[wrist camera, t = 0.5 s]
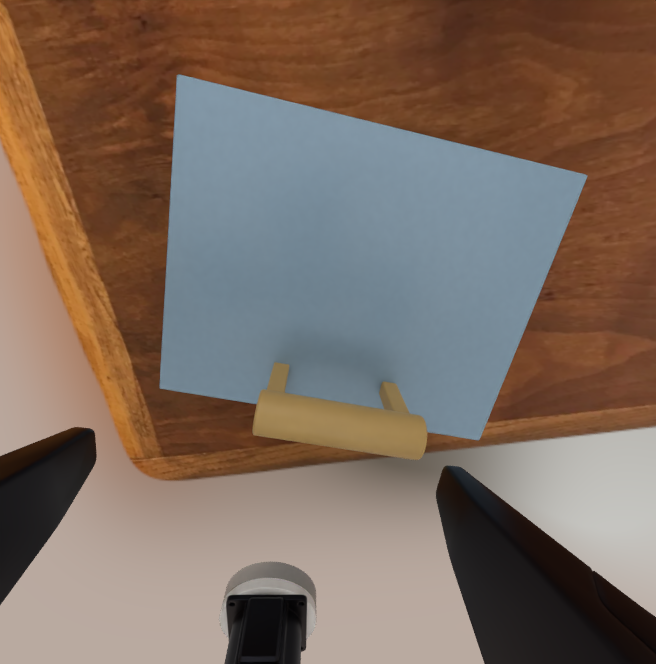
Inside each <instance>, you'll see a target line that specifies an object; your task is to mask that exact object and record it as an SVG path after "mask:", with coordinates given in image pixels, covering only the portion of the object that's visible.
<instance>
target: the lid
mask: <svg viewBox="0 0 656 664" xmlns="http://www.w3.org/2000/svg"><path fill="white" fill-rule="evenodd" d="M586 179H587V175H585V174H581V173H577V172H573V171H569V170H565V169H561V168H557V167H553V166H549V165H545V164H541V163H537V162H533V161H529V160H525V159H521V158H516V157H512V156H508V155H504V154H500V153H496V152H492V151H488V150H484V149H480V148H476V147H472V146H468V145H464V144H460V143H456V142H452V141H448V140H443V139H439V138H435V137H431V136H427V135H423V134H419V133H415V132H411V131H407V130H403V129H399V128H395V127H391V126H387V125H383V124H379V123H375V122H371V121H366V120H362V119H358V118H354V117H350V116H346V115H342V114H338V113H334V112H330V111H326V110H322V109H318V108H314V107H310V106H306V105H302V104H298V103H293V102H289V101H285V100H281V99H277V98H273V97H269V96H265V95H261V94H257V93H253V92H249V91H245V90H241V89H237V88H233V87H229V86H225V85H220V84H216V83H212V82H208V81H204V80H200V79H196V78H192V77H188V76H184V75H180V74H179V75H177V85H176V103H175V121H174V139H173V157H172V174H171V192H170V210H169V228H168V246H167V263H166V281H165V299H164V317H163V334H162V352H161V370H160V388H161V389H166V390H172V391H178V392H184V393H191V394H197V395H203V396H209V397H215V398H221V399H227V400H234V401H240V402H246V403H252V404H257V406H256V411H255V416H254V422H253V429H252V432H253V434H254V435H256V436H263V437H269V438H276V439H282V440H289V441H295V442H302V443H308V444H314V445H321V446H327V447H334V448H340V449H347V450H353V451H360V452H366V453H373V454H379V455H386V456H392V457H399V458H406V459H412V460H418V459H420V458H421V457H422V455H423V454H424V451H425V448H426V443H427V432H430V433H436V434H442V435H448V436H454V437H461V438H467V439H473V440H480V437H481V435H482V432H483V430H484V427H485V425H486V423H487V420H488V418H489V415H490V413H491V410H492V408H493V405H494V403H495V401H496V398H497V396H498V393H499V391H500V388H501V386H502V384H503V381H504V379H505V376H506V374H507V371H508V369H509V366H510V364H511V362H512V359H513V357H514V354H515V352H516V349H517V347H518V345H519V342H520V340H521V337H522V335H523V332H524V330H525V327H526V325H527V323H528V320H529V318H530V315H531V313H532V310H533V308H534V306H535V303H536V301H537V298H538V296H539V293H540V291H541V288H542V286H543V284H544V281H545V279H546V276H547V274H548V271H549V269H550V267H551V264H552V262H553V259H554V257H555V254H556V252H557V249H558V247H559V245H560V242H561V240H562V237H563V235H564V232H565V230H566V228H567V225H568V223H569V220H570V218H571V215H572V213H573V210H574V208H575V206H576V203H577V201H578V198H579V196H580V193H581V191H582V189H583V186H584V184H585V181H586Z"/></svg>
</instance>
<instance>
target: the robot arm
mask: <svg viewBox="0 0 656 664" xmlns="http://www.w3.org/2000/svg"><path fill="white" fill-rule="evenodd" d="M95 462H96V443H95V433H94V431H93V430H92V429H90V428H81V427H74V428H71V429H68V430H66V431H63V432H61V433H58V434H56V435H53V436H50V437H48V438H46V439H43V440H41V441H38V442H35V443H33V444H30V445H27V446H25V447H22V448H20V449H17V450H15V451H12V452H10V453H7V454H5V455H2V456H0V605H1V603H2V602H3V600H4V599H5V598H6V596H7V595H8V594H9V592H10V591H11V590H12V588H13V587H14V585H15V584H16V583H17V581H18V580H19V579H20V577H21V576H22V574H23V573H24V572H25V570H26V569H27V568H28V566H29V565H30V563H31V562H32V561H33V560H34V558H35V556H36V555H37V554H38V553H39V551H40V550H41V549H42V547H43V546H44V544H45V543H46V542H47V540H48V539H49V538H50V536H51V535H52V533H53V532H54V531H55V529H56V528H57V526H58V525H59V523H60V522H61V520H62V519H63V517H64V515H65V514H66V512H67V510H68V508H69V507H70V505H71V504H72V502H73V500H74V499H75V497H76V495H77V494H78V492H79V490H80V489H81V487H82V485H83V484H84V482H85V480H86V479H87V477H88V475H89V473H90V472H91V470H92V468H93V467H94V464H95ZM436 499H437V504H438V509H439V513H440V517H441V522H442V526H443V531H444V535H445V539H446V544H447V549H448V552H449V556H450V560H451V563H452V566H453V570H454V572H455V576H456V578H457V582H458V585H459V588H460V591H461V594H462V597H463V600H464V603H465V606H466V609H467V612H468V615H469V618H470V621H471V624H472V627H473V630H474V633H475V636H476V639H477V642H478V645H479V648H480V651H481V654H482V657H483V660H484V663H485V664H656V617H655V616H653V615H652V614H651V613H649V612H648V611H646V610H645V609H644V608H642V607H641V606H640V605H638V604H637V603H636V602H634V601H633V600H632V599H630V598H629V597H628V596H626V595H625V594H624V593H622V592H621V591H620V590H618V589H617V588H616V587H615V586H613V585H612V584H611V583H609V582H608V581H607V580H606V579H604V578H603V577H602V576H600V575H599V574H598V573H597V572H595V571H592V570H591V568H590V567H589V566H587V565H586V564H585V563H584V562H582V561H581V560H579V559H578V558H577V557H576V556H575V555H573V554H572V553H571V552H569V551H568V550H567V549H566V548H564V547H563V546H562V545H560V544H559V543H558V542H556V541H555V540H554V539H553V538H551V537H550V536H549V535H547V534H546V533H545V532H544V531H542V530H541V529H540V528H538V527H537V526H536V525H535V524H533V523H532V522H531V521H529V520H528V519H527V518H526V517H524V516H523V515H522V514H520V513H519V512H518V511H517V510H515V509H514V508H513V507H511V506H510V505H509V504H508V503H506V502H505V501H504V500H502V499H501V498H500V497H499V496H497V495H496V494H495V493H493V492H492V491H491V490H490V489H488V488H487V487H485V486H484V485H483V484H482V483H480V482H479V481H478V480H476V479H475V478H474V477H473V476H471V475H470V474H469V473H468V472H466V471H465V470H464V469H462V468H461V467H457V466H445V467H444V468H443V470H442V473H441V477H440V480H439V483H438V486H437V490H436ZM226 612H227V624H228V636H229V644H228V649H227V654H226V659H225V664H300V660H301V652H302V651H304V650H305V649H306V629H307V597H306V596H305V595H302V594H291V595H230V596H228V597H227V601H226Z"/></svg>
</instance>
